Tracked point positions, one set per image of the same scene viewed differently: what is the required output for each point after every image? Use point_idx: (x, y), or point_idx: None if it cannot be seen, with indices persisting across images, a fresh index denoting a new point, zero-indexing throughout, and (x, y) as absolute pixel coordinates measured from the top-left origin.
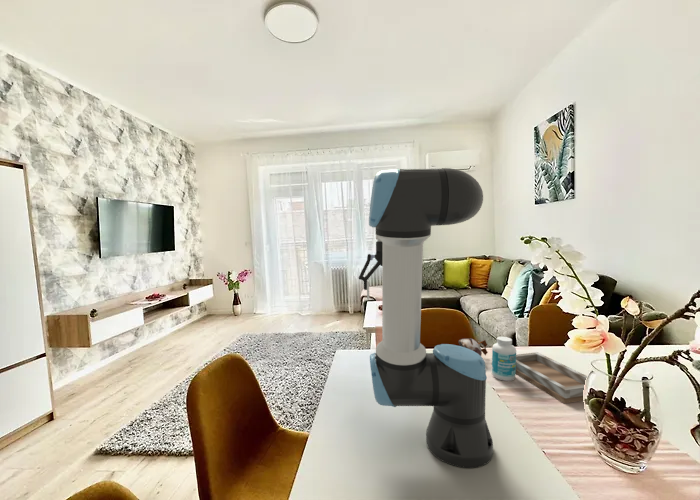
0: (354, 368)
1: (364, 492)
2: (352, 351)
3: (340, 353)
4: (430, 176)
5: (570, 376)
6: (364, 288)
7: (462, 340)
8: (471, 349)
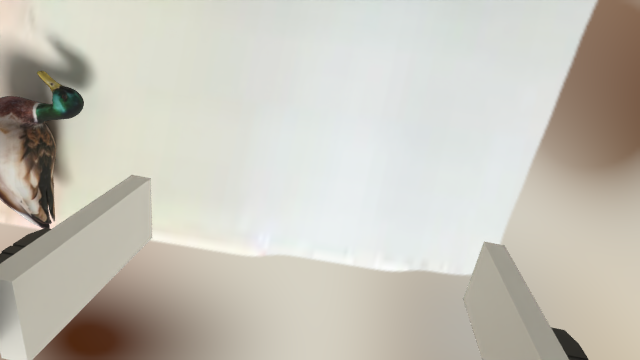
0: (471, 123)
1: None
2: (445, 266)
3: None
4: None
5: None
6: (571, 342)
7: (28, 201)
8: (9, 122)
